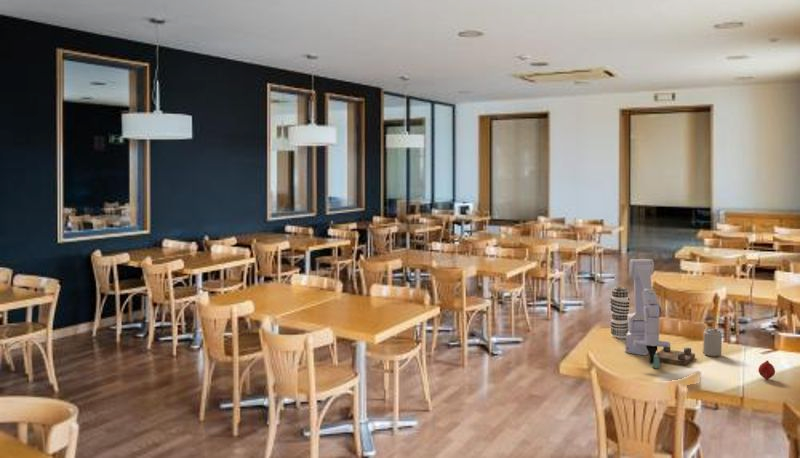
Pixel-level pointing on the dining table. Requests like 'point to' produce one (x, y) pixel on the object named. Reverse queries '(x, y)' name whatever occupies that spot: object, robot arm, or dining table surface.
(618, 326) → the grey patterned cylinder piece
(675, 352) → the stool seat
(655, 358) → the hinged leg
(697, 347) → the dining table surface
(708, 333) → the can
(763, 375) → the onion
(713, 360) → the dining table surface
